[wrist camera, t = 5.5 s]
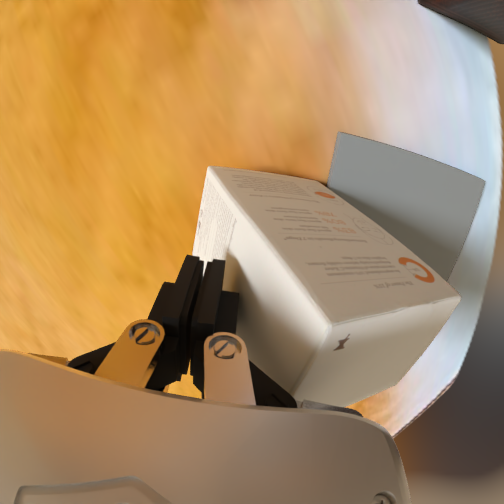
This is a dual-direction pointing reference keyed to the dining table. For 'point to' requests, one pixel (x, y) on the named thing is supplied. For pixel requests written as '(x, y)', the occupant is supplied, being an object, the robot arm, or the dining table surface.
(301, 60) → the dining table surface
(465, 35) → the dining table surface
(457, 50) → the dining table surface
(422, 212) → the mat
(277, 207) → the small box
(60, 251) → the dining table surface
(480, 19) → the manual coffee grinder
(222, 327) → the robot arm
